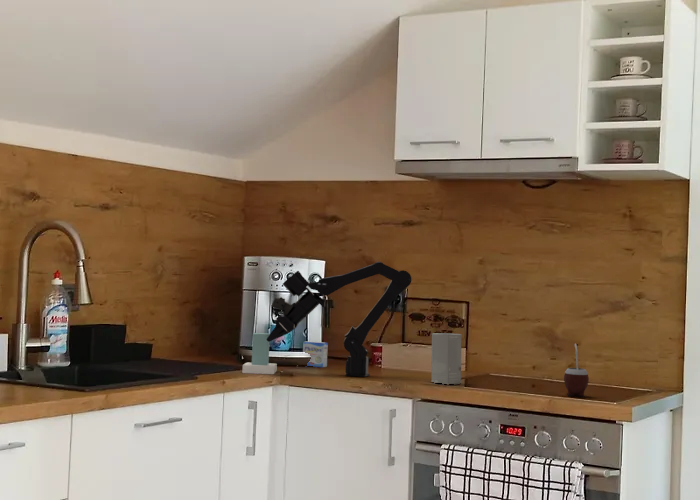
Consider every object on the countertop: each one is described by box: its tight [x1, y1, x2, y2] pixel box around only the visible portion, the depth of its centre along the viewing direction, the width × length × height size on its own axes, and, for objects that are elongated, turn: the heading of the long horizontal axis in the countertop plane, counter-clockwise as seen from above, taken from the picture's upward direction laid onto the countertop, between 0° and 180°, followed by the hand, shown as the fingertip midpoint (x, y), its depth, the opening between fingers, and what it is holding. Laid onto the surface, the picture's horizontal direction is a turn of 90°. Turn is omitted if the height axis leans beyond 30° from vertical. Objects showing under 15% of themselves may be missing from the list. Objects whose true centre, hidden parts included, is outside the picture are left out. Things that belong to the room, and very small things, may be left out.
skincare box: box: [431, 332, 463, 385], centre depth 306 cm, size 8×7×16 cm
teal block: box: [251, 332, 270, 365], centre depth 320 cm, size 4×5×10 cm
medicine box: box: [302, 340, 329, 368], centre depth 347 cm, size 8×4×9 cm, turn 73°
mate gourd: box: [563, 343, 590, 399], centre depth 286 cm, size 8×8×15 cm
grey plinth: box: [241, 362, 278, 375], centre depth 320 cm, size 10×10×2 cm
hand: (268, 339), depth 320 cm, fingers open, 9 cm apart
